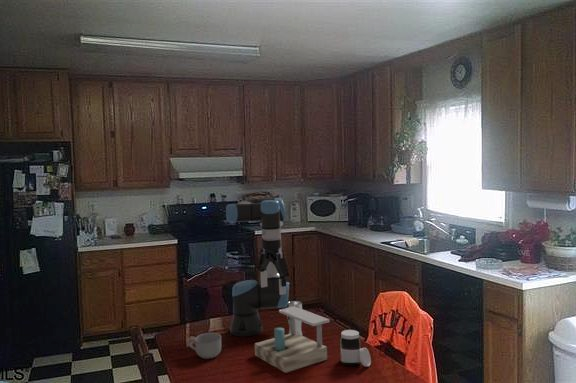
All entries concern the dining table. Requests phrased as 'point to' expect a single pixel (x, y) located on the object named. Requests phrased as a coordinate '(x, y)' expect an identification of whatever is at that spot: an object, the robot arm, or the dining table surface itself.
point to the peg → (279, 339)
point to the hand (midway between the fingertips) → (273, 290)
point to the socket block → (291, 352)
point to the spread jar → (353, 349)
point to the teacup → (206, 345)
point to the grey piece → (305, 320)
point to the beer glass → (297, 322)
